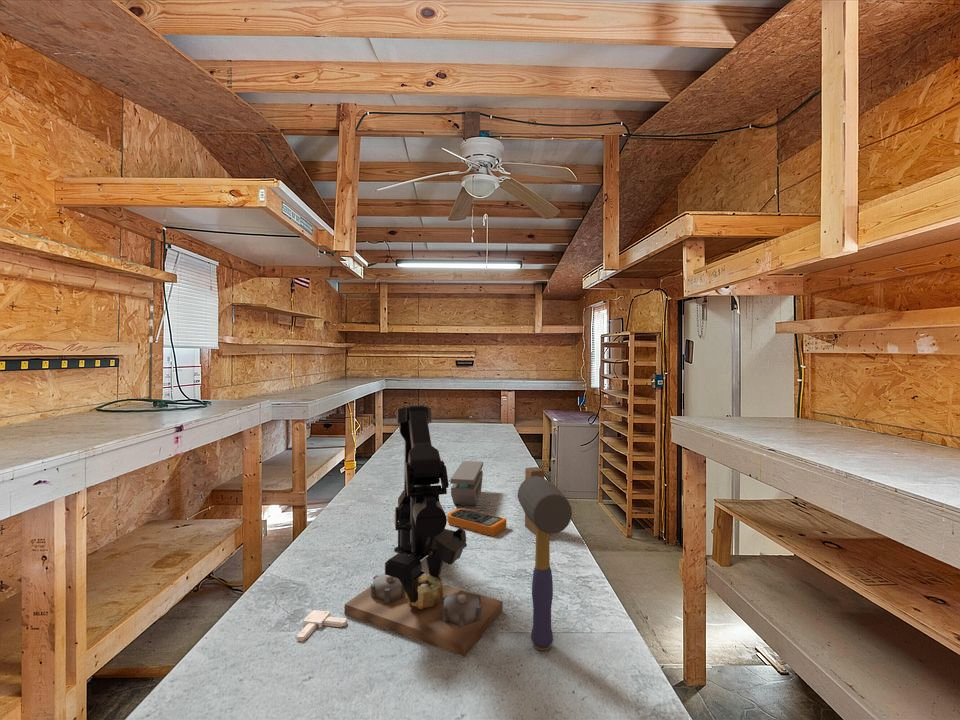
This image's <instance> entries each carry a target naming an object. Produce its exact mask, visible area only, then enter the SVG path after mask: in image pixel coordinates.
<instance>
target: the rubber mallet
mask: <svg viewBox="0 0 960 720" xmlns="http://www.w3.org/2000/svg"><path fill="white" fill-rule="evenodd" d="M517 498H518V502H519V504H520V506H521V509H522V510H523V512H524V515H525V514H526V516H527V517H528V518H529V519H530V520H531V521H532V522H533V523H534V524H535V525H536V535H535V555H534V557H535V558H534V559H535V566H534V569H533V573H532V582H531V599H532V608H533V609H532V610H533V611H532V613H533V614H532V629H531V633H530V639H531V641H532V644H533V647H534V649H537V650H539V651H547V650H549V649H550V647H551V645H552V643H553V641H554V633H553V630H552V629H553V628H552V605H553V597H554V586H553V585H554V584H553V583H554V582H553V573H552V569H551V566H550V556H551V555H550V551H551V549H550V546H551V545H550V543H551V542H550V538H551V537H550V536H551V535H555V534H559V533H561V532H562V531H564V530H566V528H567V527H568V526H569V524H570V523H571V520H572V516H573V512H572V511H573V510H572V506H571V504H570V502H569V500H568V498H567V497H566V496H565V495H564V494H563V492H561V490H560V489H559V488H558V487H556V485H554V483H552V482H550V481H549V480H548V479H546V478H545V477H544V478H542V477H538V476H533V477H529V478H527V479H526V480H525V479H524V480H523V481H522V482H521V484H520V485H519V487H518V490H517ZM550 534H551V535H550Z"/></svg>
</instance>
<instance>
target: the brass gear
mask: <svg viewBox="0 0 960 720" xmlns="http://www.w3.org/2000/svg"><path fill="white" fill-rule="evenodd" d="M422 584H428V587H424V588H423V587H420V586H421V585H422ZM444 585H445V583H444V582H443V581H442V578H441V577H440V576H439V577H435V576H431V574H429V573H426V574H423V575H422V576H421V577H419V581H418V592H417V600H416V602H415V603H413V602H411V601H410V599H409V597H408V595H407V593H406V598H407V604H408V605H409V606H410V605H413V606H416V607H418V609H423V608H425V607H431V606H433V607H435V606H437V605H438V603H439V602H440V601H441V600H443V597H444Z"/></svg>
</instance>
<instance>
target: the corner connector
mask: <svg viewBox="0 0 960 720" xmlns="http://www.w3.org/2000/svg"><path fill="white" fill-rule="evenodd" d="M302 623H303V628H302V629H301V631H300V632H299V633H298V634H297V635H296V640H298V641H299V642H304V641H305V640H307V639H309V637H310V636H311V635H312V634H313V633H314V632H315V630H316V629H317V628H319V629H322V628H323V626H327V627H336V628H343V627H342V626H345V625H346V626H347V625H348V618H344V617H335V616H331V611H327V610H318V609H313V610H312V611H311V612H310V613H309V614H308V615H307V616H306V617H305V619H304V620H303V621H302ZM346 626H345V627H346ZM321 627H322V628H321ZM303 640H304V641H303Z"/></svg>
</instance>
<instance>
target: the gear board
mask: <svg viewBox="0 0 960 720" xmlns="http://www.w3.org/2000/svg"><path fill="white" fill-rule="evenodd" d="M420 587H423V588H424V587H428V584H422V585H421V586H420ZM503 602H504V601H503V600H499V599H496V598H492V597H489V596H485V595H483V594H478V593H474V592H471V591H467V590H464V589H460V588H458V587H453V586H450V585H446V584H444V597H443V600H441V601H440V602H439V603H438V605H437V606H435V607H433V606H431V607H425V608H423V609H418V607H416V606H413V605H410V606H409V605H408V604H407V598H406V591H405V589H404V587H403V585H402V583H401V582H400V580H399V579H398V578H395V577H392V576H388V575H385V573H381V574H378V575H373V581H372V583H371V584H370V586H368V587H367V588H366V589H365V590H363V591H362V592H360V593H359V594H357V595H356V596H354V597H353V598H351V599H350V600H349V601H347V602H346V603H344V615H347V616H349V617H352V618H354V619H358V620H360V619H361V620H360V621H363V622H366V623H370V624H371V623H372V624H371V625H374V624H375V626H378V627H380V628H383V629H385V628H386V630H388V629H389V631H391V632H394V633H397V634H399V635H403V636H405V637H408V638H410V637H411V639H414V640H416V641H419V642H421V643H425V644H428V645H430V646H433V647H436V648H439V649H442V650H443V651H447V652H449V653H453V654H455V655H458V656H460V657H463V658H465V657H467V655H468V654H469V653H470V651H471V650H472V649H473V648H474V647H475V645H476V644H477V643H478V641H479V640H480V639H481V638H482V637H483V635H484V634H485V633H486V632H487V631H488V629H490V627H491V626H492V624H493V623H494V622H495V621H496V620H497V618H498V617H499V616H500V615H501V613H502V612H503V611H504V610H503V609H504V608H503Z"/></svg>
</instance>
